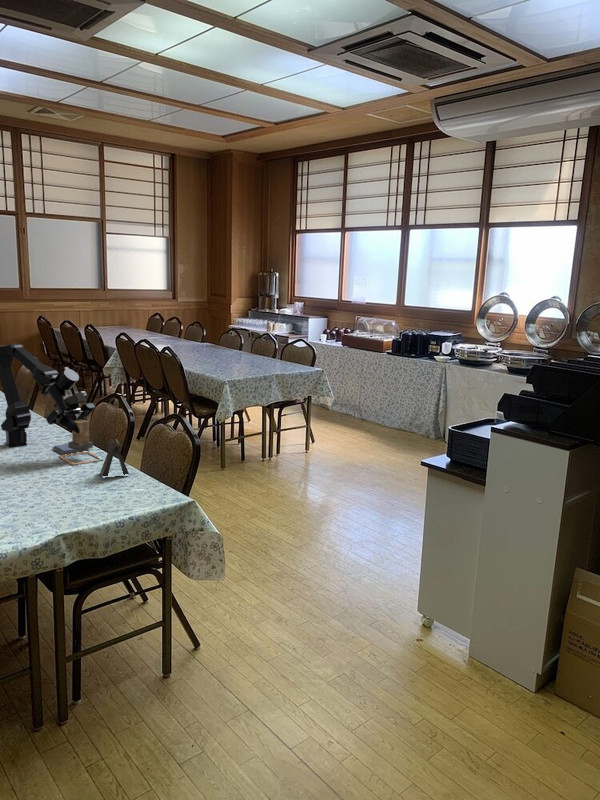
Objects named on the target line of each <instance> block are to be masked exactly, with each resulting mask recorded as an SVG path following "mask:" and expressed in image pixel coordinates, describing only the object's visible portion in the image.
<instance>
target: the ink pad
mask: <svg viewBox="0 0 600 800" xmlns="http://www.w3.org/2000/svg"><path fill="white" fill-rule="evenodd" d="M53 449H54V450H53ZM52 450H53V451H54V452H57V453H58V452H59V454H60V453H61V454H60V455H62V454H63V455H65V454H68V455H69V454H71V453H77V452H81V453H82V452H83V451H89V452H90V448H89V449H85V450H81V451H78V450H75V449H71V448H68V443H64V444H56V445H53V446H52Z"/></svg>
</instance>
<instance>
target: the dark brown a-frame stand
mask: <svg viewBox="0 0 600 800" xmlns="http://www.w3.org/2000/svg"><path fill="white" fill-rule="evenodd" d="M114 440H115V442H116V445H115V442H114ZM108 443H109V449H108V451H107V453H106V456H105V459H104V461H103V464H102V467H101V470H100V475H101V474H102V476H108V473H109V471H111V470H110V469H111V465H112V463H113V459H114V455H115V454H116V455H117V457H118V462H119V465H120V467H121V470H122V471H123V474H124V475H125V474H129V475H130V472H129V470H128V467H127V465H126V463H125V460H124V458H123V455H122V453H121V444H120V442H119V440H118V439H117V438H115V439H113V438H111V439H110V440H109V442H108ZM114 445H115V446H114ZM102 476H101V477H102Z"/></svg>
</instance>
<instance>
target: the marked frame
mask: <svg viewBox="0 0 600 800" xmlns="http://www.w3.org/2000/svg"><path fill="white" fill-rule="evenodd" d="M83 453H90V454H92V455H94V456H96V455H97V454H94V453H93V452H91V451H90V450H89V451H88V452H81V453H75V454H68V455H62V454H61V455H58V458H59V457H60V458H59V459H61V458H62V460H63V459H64V460H65V462H66V461H67V462H66V463H68V464H69V463H70V465H71V464H72V465H71V466H73V465H74V466H77V465H76V464H80V465H83V464H82V463H86V464H88V463H87V462H92V461H97V460H98V459H94V460H93V459H91V460H89V461H79V462H73V461H71V460H69V459H67V458H66V457H65V456H68V457H72V456H71V455H75V456H78V455H77V454H81V455H84V454H83ZM90 454H89V455H90ZM92 455H91V456H92ZM94 456H93V457H94ZM96 457H98V455H97V456H96ZM96 457H95V458H96ZM64 460H63V461H64ZM92 463H93V462H92Z"/></svg>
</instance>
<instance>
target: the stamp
mask: <svg viewBox="0 0 600 800" xmlns="http://www.w3.org/2000/svg"><path fill="white" fill-rule="evenodd" d="M74 422H75V424H76V425H77V427H78V429H79V431H80V432H79V433H76V432H74V431H72V430H71V431H72V435H71V436H72V440H71V441H68V443H67V444H68V448H71V449H75V450H78V451H81V450H85V449H89V450H90V449H93V448H94V445H93V444H94V443H93V441H90V421H88V420H87V421H85V420H82V419H81V420H76V419H75V420H74Z"/></svg>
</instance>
